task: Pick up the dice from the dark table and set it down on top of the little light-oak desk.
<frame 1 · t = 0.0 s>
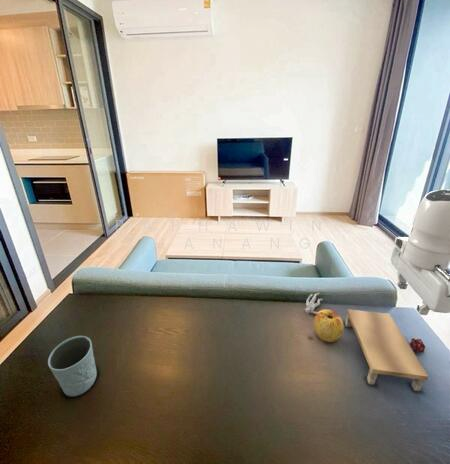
hand: (410, 299, 65), 26 cm above the table, tool pointing down, fingers open, 8 cm apart
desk: (377, 352, 79), on the table
dice: (415, 350, 80), on the table
apple: (326, 336, 85), on the table
soldier figure: (312, 308, 97), on the table
grey cup: (79, 381, 70), on the table
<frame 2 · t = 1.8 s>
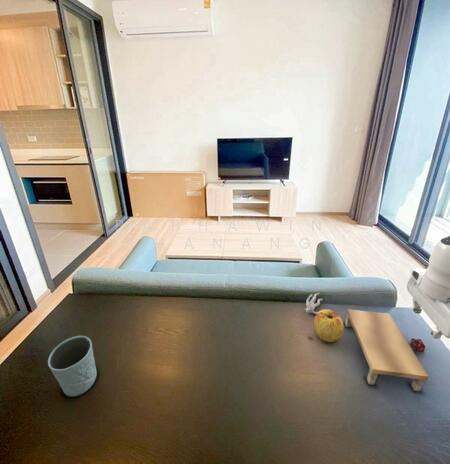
hand: (424, 323, 76), 11 cm above the table, tool pointing down, fingers open, 8 cm apart
nothing on the table moved.
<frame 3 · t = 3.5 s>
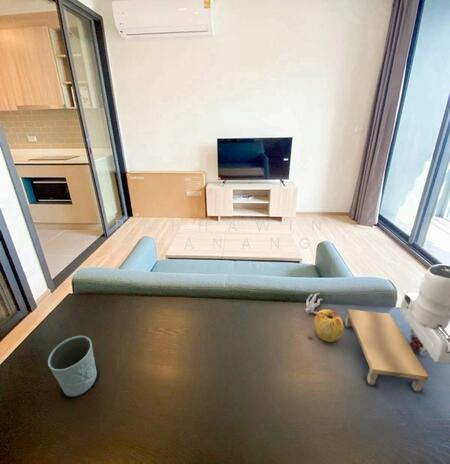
hand: (417, 346, 79), 2 cm above the table, tool pointing down, fingers closed on dice, 4 cm apart
dice: (415, 350, 80), on the table, touching gripper
everything else where it was.
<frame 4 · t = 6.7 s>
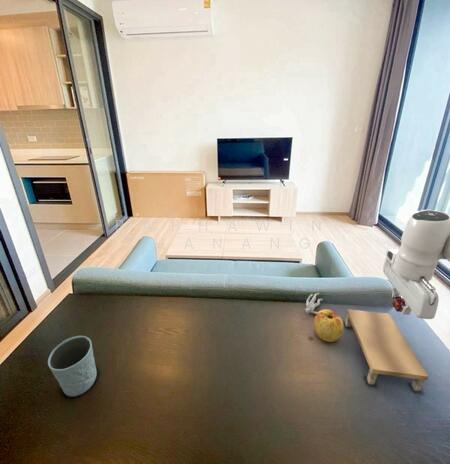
hand: (400, 305, 72), 19 cm above the table, tool pointing down, fingers closed on dice, 4 cm apart
dice: (398, 310, 73), point 17 cm above the table, touching gripper
everything else where it was.
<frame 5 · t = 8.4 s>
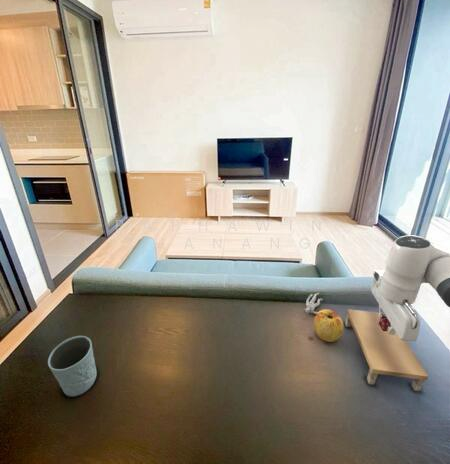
hand: (386, 325, 75), 12 cm above the table, tool pointing down, fingers closed on dice, 4 cm apart
dice: (384, 330, 75), point 10 cm above the table, touching gripper
everything else where it was.
when the fingers open (8 cm above the table, at t = 9.8 s): dice stays where it is, resting on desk.
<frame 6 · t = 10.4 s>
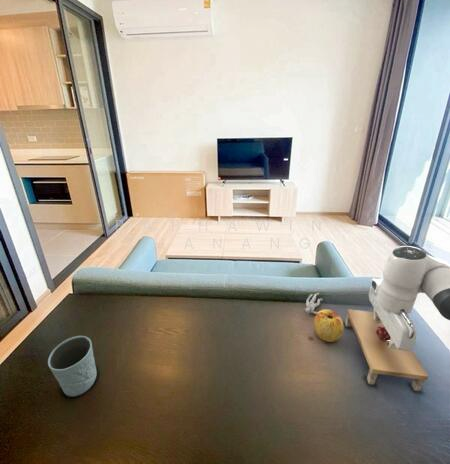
hand: (383, 333, 76), 8 cm above the table, tool pointing down, fingers open, 8 cm apart
dice: (382, 338, 77), point 6 cm above the table, touching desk
everything else where it was.
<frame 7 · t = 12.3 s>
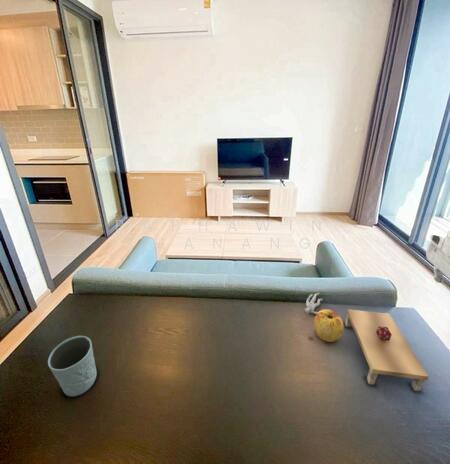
hand: (449, 292, 69), 26 cm above the table, tool pointing down, fingers open, 8 cm apart
nothing on the table moved.
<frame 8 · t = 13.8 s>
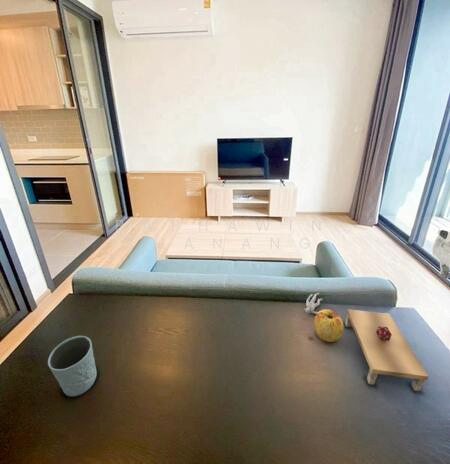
nothing on the table moved.
at the end: dice inside the target area on the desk (0.0 cm from its centre), point 6.3 cm above the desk's base; dice tilted 0°; the gripper is holding nothing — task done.
